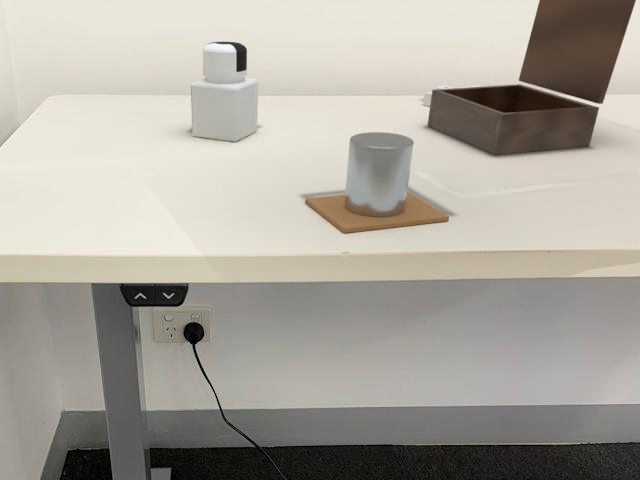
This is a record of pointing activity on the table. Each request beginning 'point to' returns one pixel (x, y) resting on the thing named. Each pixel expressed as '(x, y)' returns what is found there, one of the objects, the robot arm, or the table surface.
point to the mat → (353, 222)
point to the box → (512, 119)
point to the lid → (576, 46)
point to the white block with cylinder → (224, 94)
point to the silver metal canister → (378, 174)
